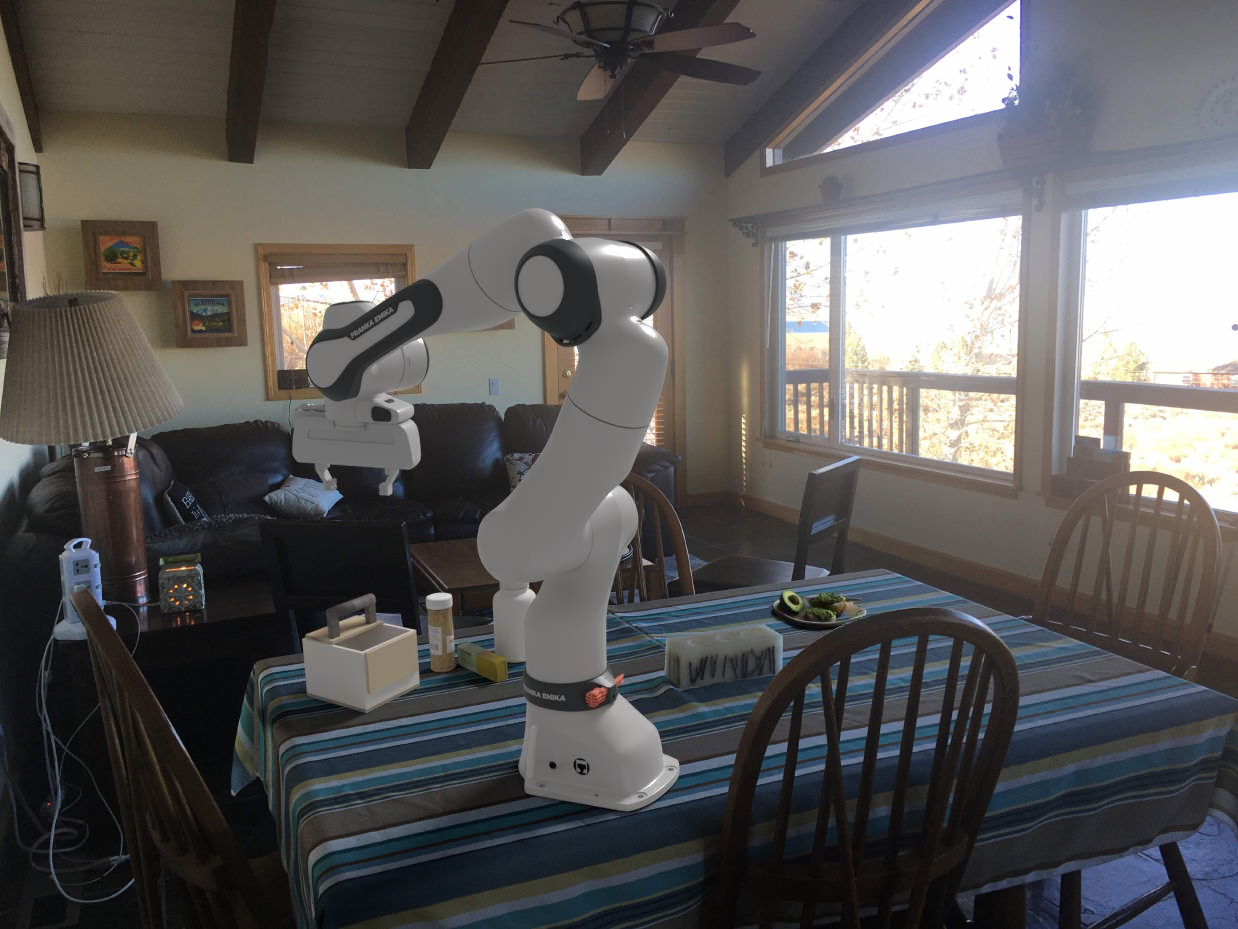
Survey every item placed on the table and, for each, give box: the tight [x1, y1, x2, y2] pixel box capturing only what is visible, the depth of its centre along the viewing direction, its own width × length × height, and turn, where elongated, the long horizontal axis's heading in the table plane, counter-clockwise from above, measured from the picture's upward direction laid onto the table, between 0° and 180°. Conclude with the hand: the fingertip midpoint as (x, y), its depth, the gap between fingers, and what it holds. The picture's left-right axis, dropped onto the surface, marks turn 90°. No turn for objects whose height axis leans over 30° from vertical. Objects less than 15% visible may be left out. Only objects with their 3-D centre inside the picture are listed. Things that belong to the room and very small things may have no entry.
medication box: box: [456, 640, 509, 683], centre depth 163 cm, size 12×3×4 cm, turn 44°
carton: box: [301, 622, 421, 714], centre depth 155 cm, size 15×12×10 cm
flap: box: [305, 593, 384, 644], centre depth 155 cm, size 7×11×6 cm, turn 148°
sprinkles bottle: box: [425, 592, 457, 673], centre depth 164 cm, size 5×5×14 cm
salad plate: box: [771, 589, 868, 630], centre depth 189 cm, size 19×18×5 cm
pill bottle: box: [492, 581, 537, 664], centre depth 169 cm, size 8×8×15 cm
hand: (357, 492), depth 147 cm, fingers open, 8 cm apart
